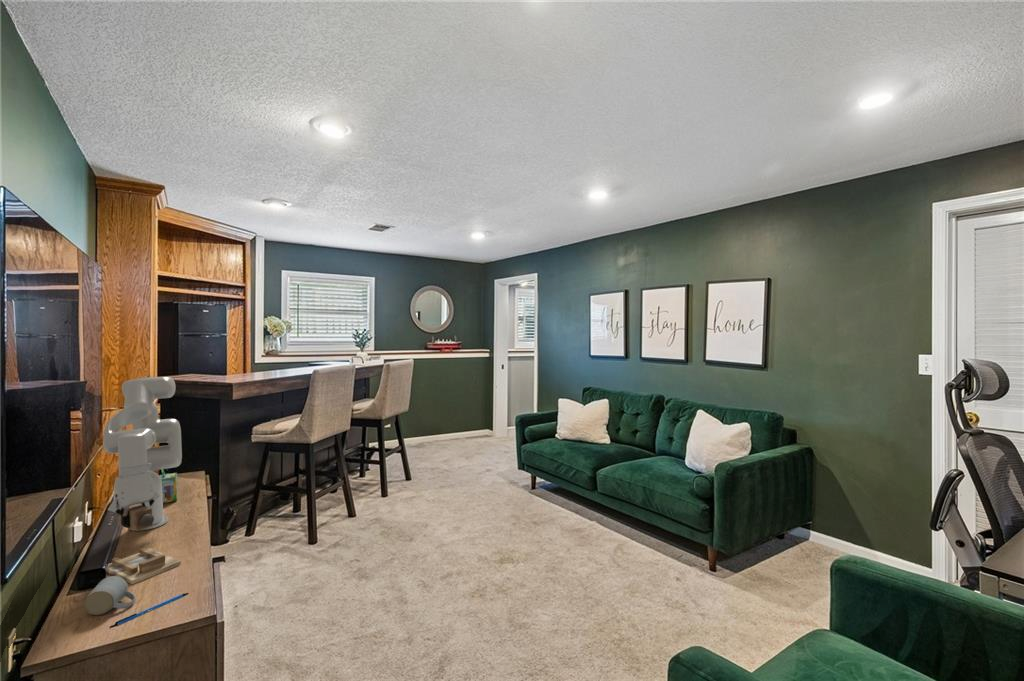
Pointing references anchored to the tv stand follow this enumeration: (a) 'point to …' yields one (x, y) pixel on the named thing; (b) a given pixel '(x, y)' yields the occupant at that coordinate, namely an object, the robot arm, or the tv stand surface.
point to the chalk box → (169, 487)
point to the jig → (141, 565)
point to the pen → (146, 610)
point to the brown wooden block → (138, 517)
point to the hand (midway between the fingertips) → (135, 523)
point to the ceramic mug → (108, 596)
